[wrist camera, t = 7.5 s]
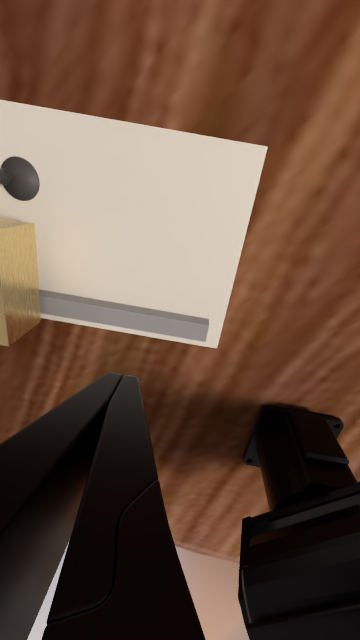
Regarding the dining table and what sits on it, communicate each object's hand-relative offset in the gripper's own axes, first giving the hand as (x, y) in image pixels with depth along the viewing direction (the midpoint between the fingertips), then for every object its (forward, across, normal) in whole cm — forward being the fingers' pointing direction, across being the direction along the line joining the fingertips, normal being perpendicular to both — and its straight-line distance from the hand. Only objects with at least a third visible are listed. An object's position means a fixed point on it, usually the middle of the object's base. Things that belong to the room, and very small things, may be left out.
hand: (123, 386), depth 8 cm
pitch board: (+11, +8, -2) cm, 14 cm away
